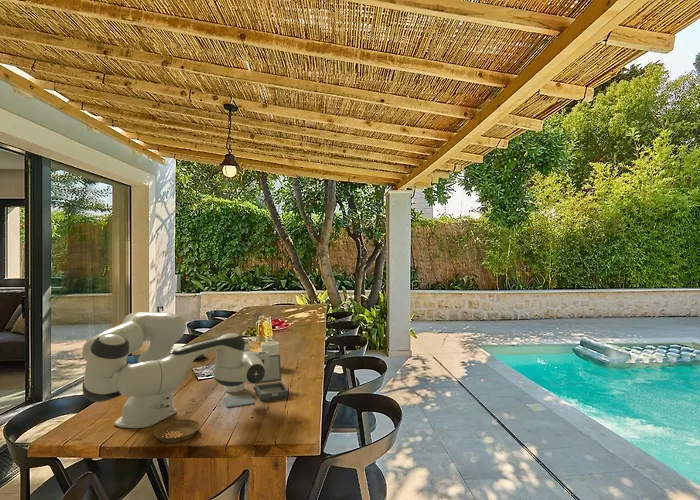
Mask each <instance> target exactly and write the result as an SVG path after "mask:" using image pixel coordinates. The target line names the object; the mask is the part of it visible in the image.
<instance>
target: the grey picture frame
mask: <svg viewBox="0 0 700 500" xmlns="http://www.w3.org/2000/svg"><path fill="white" fill-rule="evenodd" d="M269 359H270V362H269V368H268V369H265V376H264V378H263V379H262V380H261V381H260V382H259V383H256V384H257V385H259V384H267V383H275V382H282V372H281V371H282V368H281V355H280V354H277V355H271V356H269Z"/></svg>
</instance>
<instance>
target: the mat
mask: <svg viewBox="0 0 700 500" xmlns="http://www.w3.org/2000/svg"><path fill="white" fill-rule="evenodd" d="M223 400H224V402H225V405H226V408H228V409H229V408H237V407H243V406H244V407H245V406H250V405H251V406H253V405H256V403H255V400H254V399H253V397H252V395H251V394H249V393H248V394H241V395H232V396H224V397H223Z"/></svg>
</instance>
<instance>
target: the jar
mask: <svg viewBox="0 0 700 500" xmlns="http://www.w3.org/2000/svg"><path fill="white" fill-rule="evenodd" d="M244 384H245V382H244V383H243V384H241V385H238V386H224V385H223V388H224V391H225V392H226V393H239V392H241V391H243V390H244V389H245V385H244Z"/></svg>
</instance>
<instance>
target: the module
mask: <svg viewBox="0 0 700 500" xmlns="http://www.w3.org/2000/svg"><path fill="white" fill-rule="evenodd" d="M244 341H245V347H244V351H243V352H245V351H250V343H249V340H248V339H244Z"/></svg>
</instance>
